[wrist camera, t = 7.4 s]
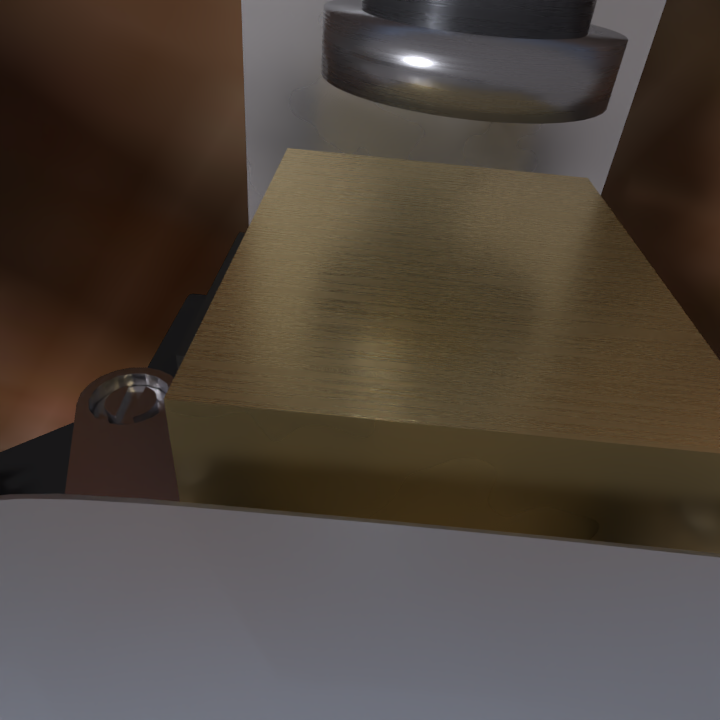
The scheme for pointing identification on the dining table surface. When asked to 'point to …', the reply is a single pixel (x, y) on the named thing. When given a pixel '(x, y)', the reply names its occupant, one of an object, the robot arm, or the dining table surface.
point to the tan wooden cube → (449, 361)
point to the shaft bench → (443, 81)
